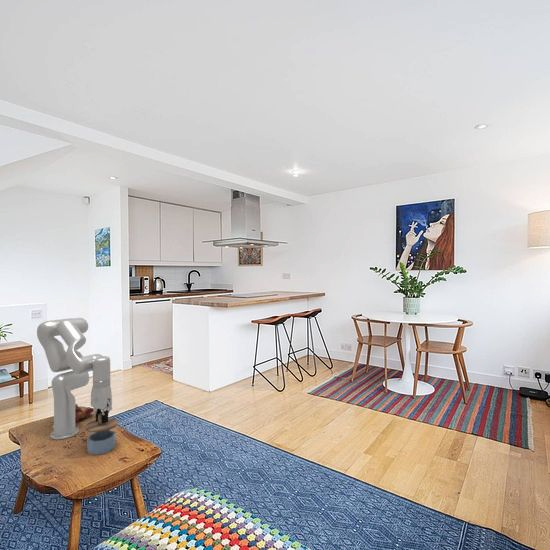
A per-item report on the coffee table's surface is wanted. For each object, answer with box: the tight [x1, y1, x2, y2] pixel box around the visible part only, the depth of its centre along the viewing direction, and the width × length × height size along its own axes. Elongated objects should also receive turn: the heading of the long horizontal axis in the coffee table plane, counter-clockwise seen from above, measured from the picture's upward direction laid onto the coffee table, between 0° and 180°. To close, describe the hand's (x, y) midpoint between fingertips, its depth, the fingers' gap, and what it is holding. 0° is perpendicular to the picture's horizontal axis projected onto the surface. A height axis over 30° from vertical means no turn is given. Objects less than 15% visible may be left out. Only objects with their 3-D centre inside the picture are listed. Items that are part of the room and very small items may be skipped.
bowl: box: [86, 429, 117, 456], centre depth 166 cm, size 12×12×6 cm
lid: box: [84, 413, 119, 433], centre depth 165 cm, size 14×14×6 cm
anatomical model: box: [75, 403, 95, 423], centre depth 199 cm, size 11×13×15 cm
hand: (102, 421), depth 165 cm, fingers closed on lid, 3 cm apart
